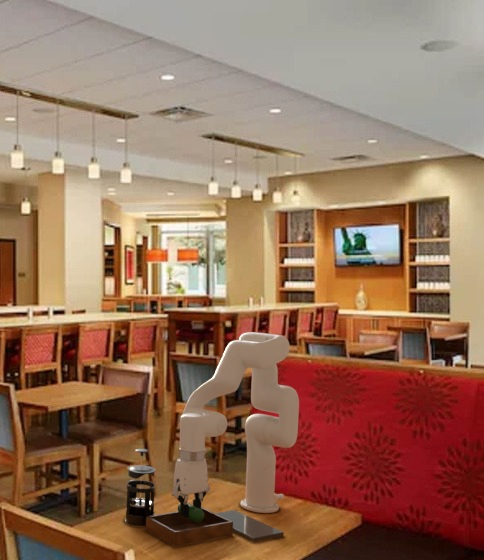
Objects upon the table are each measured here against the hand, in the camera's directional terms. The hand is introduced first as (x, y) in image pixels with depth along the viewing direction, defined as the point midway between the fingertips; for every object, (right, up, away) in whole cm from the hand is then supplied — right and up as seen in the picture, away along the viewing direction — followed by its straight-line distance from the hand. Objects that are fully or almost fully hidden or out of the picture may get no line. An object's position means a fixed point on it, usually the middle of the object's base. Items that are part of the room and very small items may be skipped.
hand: (190, 514), depth 220 cm
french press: (-15, -5, +9) cm, 18 cm away
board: (+17, -6, +6) cm, 20 cm away
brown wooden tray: (-1, -6, 0) cm, 6 cm away
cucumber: (0, -1, 0) cm, 1 cm away
